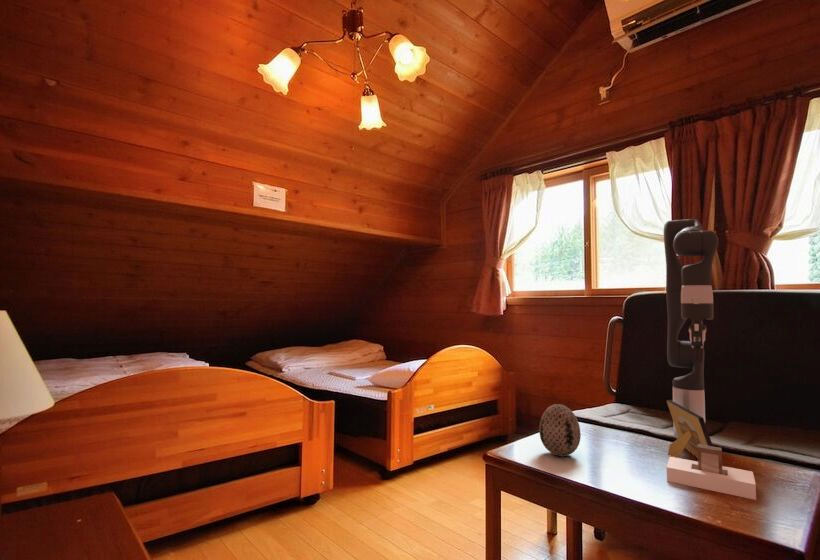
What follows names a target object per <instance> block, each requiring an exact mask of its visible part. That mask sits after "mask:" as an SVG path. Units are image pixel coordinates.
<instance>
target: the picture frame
mask: <svg viewBox="0 0 820 560" xmlns="http://www.w3.org/2000/svg"><path fill="white" fill-rule="evenodd" d="M666 404H667V407H668V409H669V413H670V415H671V419H672V421H673V422H674V425H675V428H676V431H677V434H678V437H679V438H678V439H677V438H676V439H675V440H674V441H673V442H672V443H670V444H669V446H668V452H667V456H668V455H671V456H674V457H677V458H680V456H681V454H682V452H683V451H684V450H686V449H687V450H689V451H690V452H691V453H693V454H694V455H695V456H697V457H698V444H701V445H707V446H713V447H714V445H713V443H712V439H711V436H710V434H709V430H708V428H707V424H706V421H705V422H704V419H703V417H701V416H699V415H697V414H695V413H693V412H692V411H690V410H688V409H686V408H684V407H682V406H680V405H679V404H677V403H675V402H673V400H672V399H667V400H666ZM673 422H672V423H673ZM684 448H686V449H684ZM687 450H686V451H687ZM690 452H689V453H690ZM691 453H690V454H691ZM694 455H693V456H694ZM671 456H670V457H671ZM695 456H694V457H695Z"/></svg>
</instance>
